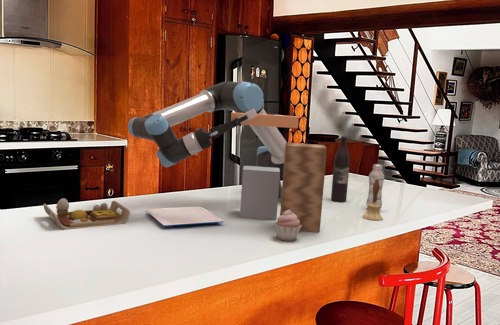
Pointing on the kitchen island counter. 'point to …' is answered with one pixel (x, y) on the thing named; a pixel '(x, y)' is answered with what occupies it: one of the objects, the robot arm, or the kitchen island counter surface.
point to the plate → (183, 216)
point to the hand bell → (374, 205)
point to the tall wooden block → (304, 183)
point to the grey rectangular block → (259, 192)
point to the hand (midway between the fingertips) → (255, 112)
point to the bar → (270, 120)
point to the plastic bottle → (374, 175)
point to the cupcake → (287, 226)
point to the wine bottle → (340, 173)
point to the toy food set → (87, 215)
